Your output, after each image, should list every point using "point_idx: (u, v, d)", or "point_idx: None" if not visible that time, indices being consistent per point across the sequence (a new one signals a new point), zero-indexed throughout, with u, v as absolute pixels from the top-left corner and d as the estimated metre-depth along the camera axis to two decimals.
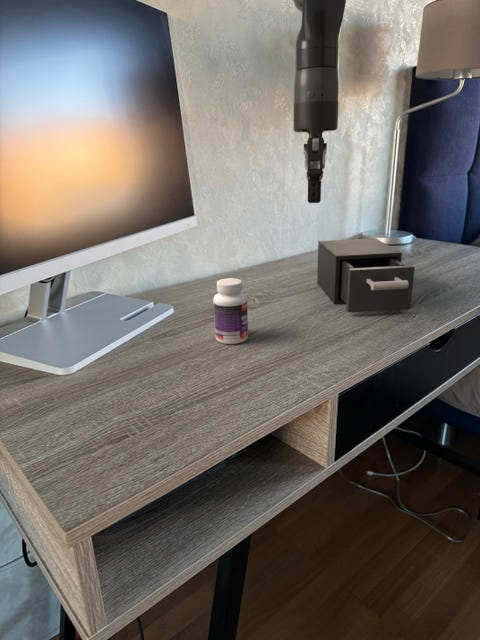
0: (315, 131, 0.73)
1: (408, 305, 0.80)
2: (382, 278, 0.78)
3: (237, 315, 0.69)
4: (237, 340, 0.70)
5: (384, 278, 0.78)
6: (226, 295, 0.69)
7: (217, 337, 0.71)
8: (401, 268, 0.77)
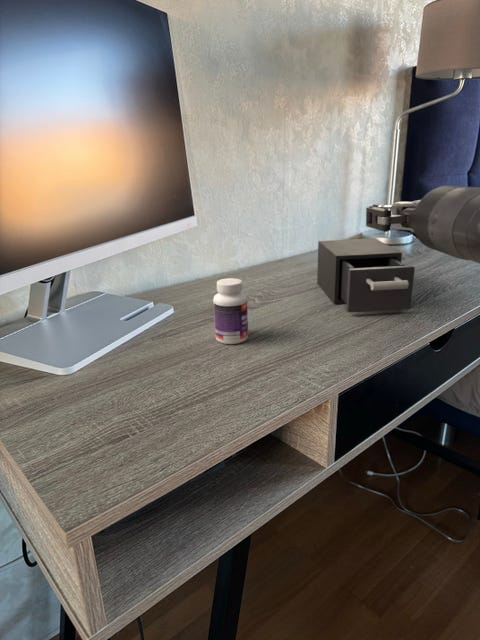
0: (411, 219, 0.53)
1: (408, 305, 0.80)
2: (382, 278, 0.78)
3: (237, 315, 0.69)
4: (237, 340, 0.70)
5: (384, 278, 0.78)
6: (226, 295, 0.69)
7: (217, 337, 0.71)
8: (401, 268, 0.77)
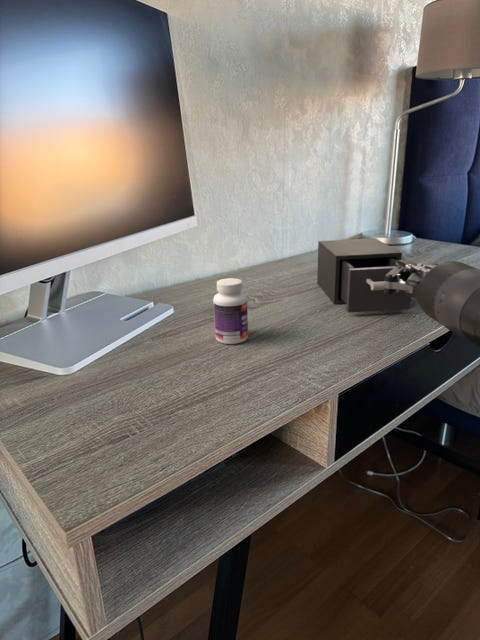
0: (416, 291, 0.55)
1: (408, 305, 0.80)
2: (382, 278, 0.78)
3: (237, 315, 0.69)
4: (237, 340, 0.70)
5: (384, 278, 0.78)
6: (226, 295, 0.69)
7: (217, 337, 0.71)
8: None
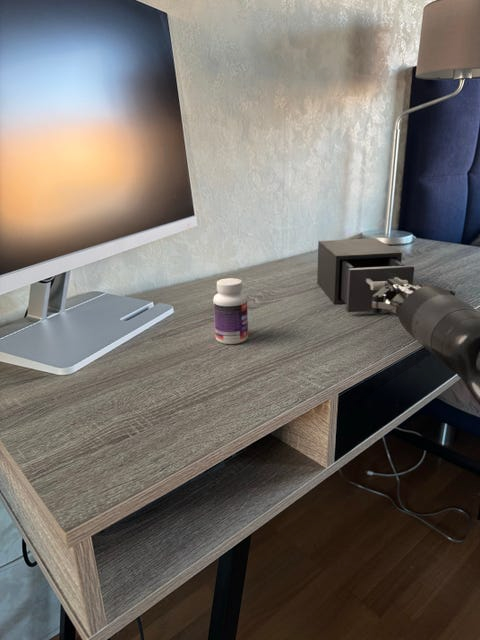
0: (398, 311, 0.62)
1: None
2: (382, 278, 0.78)
3: (237, 315, 0.69)
4: (237, 340, 0.70)
5: (384, 278, 0.78)
6: (226, 295, 0.69)
7: (217, 337, 0.71)
8: (401, 268, 0.77)
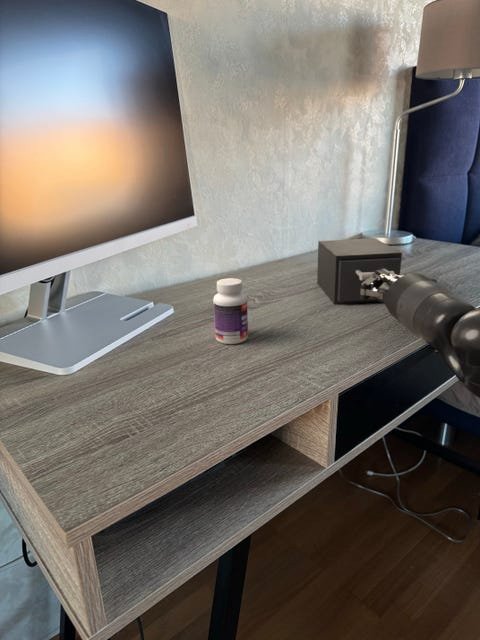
0: (384, 297, 0.67)
1: None
2: (370, 269, 0.83)
3: (237, 315, 0.69)
4: (237, 340, 0.70)
5: (372, 269, 0.83)
6: (226, 295, 0.69)
7: (217, 337, 0.71)
8: (388, 260, 0.83)
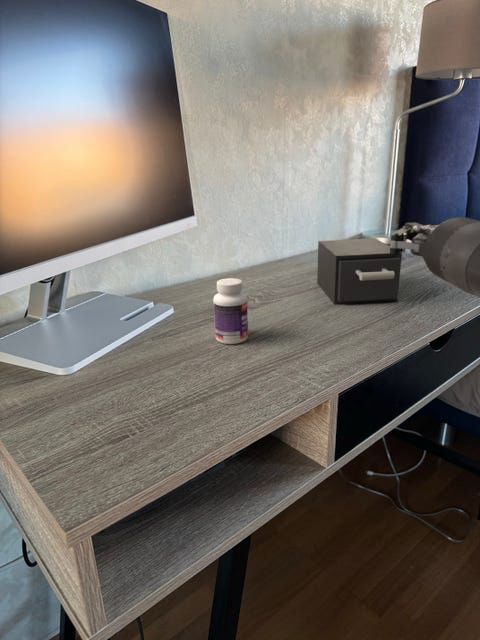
0: (422, 249, 0.54)
1: (395, 295, 0.85)
2: (370, 269, 0.83)
3: (237, 315, 0.69)
4: (237, 340, 0.70)
5: (372, 269, 0.83)
6: (226, 295, 0.69)
7: (217, 337, 0.71)
8: (388, 260, 0.83)
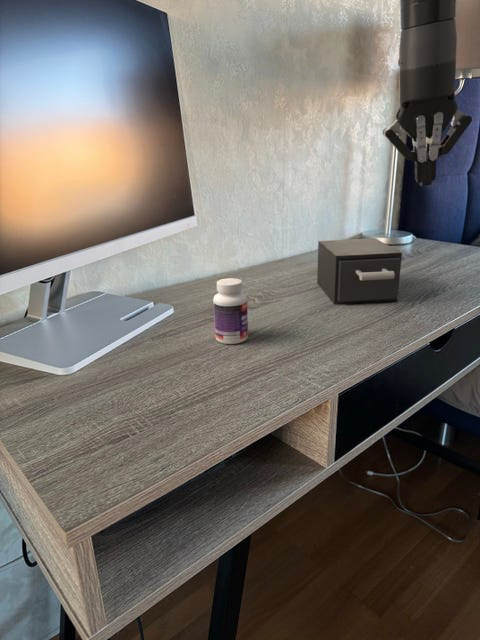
0: (400, 104, 0.66)
1: (395, 295, 0.85)
2: (370, 269, 0.83)
3: (237, 315, 0.69)
4: (237, 340, 0.70)
5: (372, 269, 0.83)
6: (226, 295, 0.69)
7: (217, 337, 0.71)
8: (388, 260, 0.83)
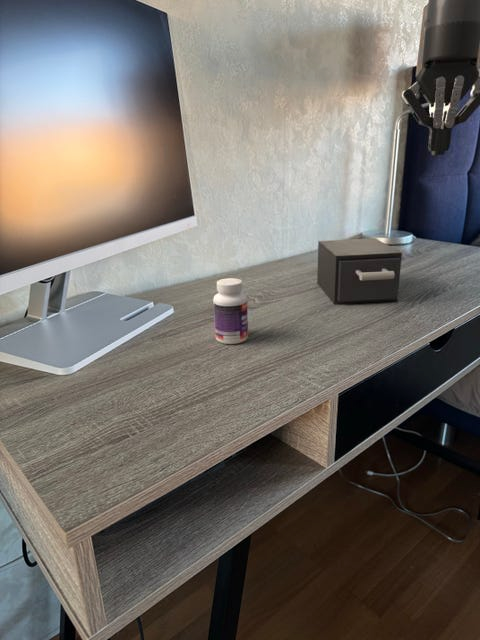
0: (421, 65, 0.66)
1: (395, 295, 0.85)
2: (370, 269, 0.83)
3: (237, 315, 0.69)
4: (237, 340, 0.70)
5: (372, 269, 0.83)
6: (226, 295, 0.69)
7: (217, 337, 0.71)
8: (388, 260, 0.83)
